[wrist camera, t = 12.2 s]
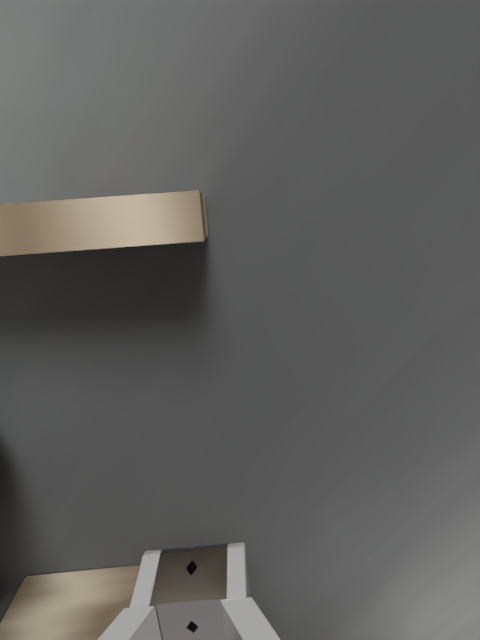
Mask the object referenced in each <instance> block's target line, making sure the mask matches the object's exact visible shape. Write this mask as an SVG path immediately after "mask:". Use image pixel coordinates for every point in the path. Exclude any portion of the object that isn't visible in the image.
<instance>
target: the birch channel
mask: <svg viewBox="0 0 480 640" xmlns="http://www.w3.org/2000/svg"><path fill="white" fill-rule="evenodd" d="M207 236H208V228H207V217H206V206H205V197H204V196H203V194H202V193H201V192H200V191H185V192H170V193H156V194H141V195H127V196H113V197H98V198H84V199H70V200H55V201H41V202H26V203H12V204H0V256H10V255H23V254H37V253H51V252H64V251H78V250H91V249H105V248H119V247H132V246H146V245H159V244H173V243H187V242H200V241H204V240H205V239H206V238H207ZM139 568H140V565H135V566H125V567H115V568H105V569H95V570H84V571H74V572H64V573H54V574H44V575H33V576H26V577H25V579H24V581H23V582H22V584H21V586H20V588H19V590H18V592H17V593H16V595H15V597H14V599H13V601H12V603H11V605H10V606H9V608H8V610H7V612H6V614H5V616H4V617H3V619H2V621H1V623H0V640H97V639H98V638H99V637H100V636H101V635H102V633H103V632H104V631H105V630H106V629H107V628H108V626H109V625H110V624H111V623H112V622H113V620H114V619H115V618H116V617H117V616H118V615H119V613H120V612H121V611H122V610H123V609H124V608H129V606H130V602H131V598H132V595H133V591H134V587H135V583H136V579H137V576H138V572H139Z"/></svg>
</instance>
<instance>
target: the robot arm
mask: <svg viewBox="0 0 480 640" xmlns="http://www.w3.org/2000/svg"><path fill="white" fill-rule="evenodd" d="M97 640H280V638H279V637H278V635H277V634H276V632H275V631H274V629H273V628H272V626H271V625H270V623H269V622H268V620H267V619H266V617H265V616H264V614H263V613H262V611H261V610H260V609H259V607H258V606H257V604H256V603H255V601H254V600H253V598H252V597H250V587H249V575H248V565H247V556H246V547H245V543H233V544H220V545H210V546H200V547H195V548H180V549H163V550H151V551H145V553H144V555H143V557H142V560H141V564H140V568H139V572H138V576H137V579H136V583H135V587H134V591H133V595H132V598H131V602H130V606H129V608H124V609H123V610H122V611H121V612H120V613H119V615H118V616H117V617H116V618H115V619H114V620H113V622H112V623H111V624H110V625H109V626H108V628H107V629H106V630H105V631H104V632H103V633H102V635H101V636H100V637H99V638H98V639H97Z"/></svg>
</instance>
